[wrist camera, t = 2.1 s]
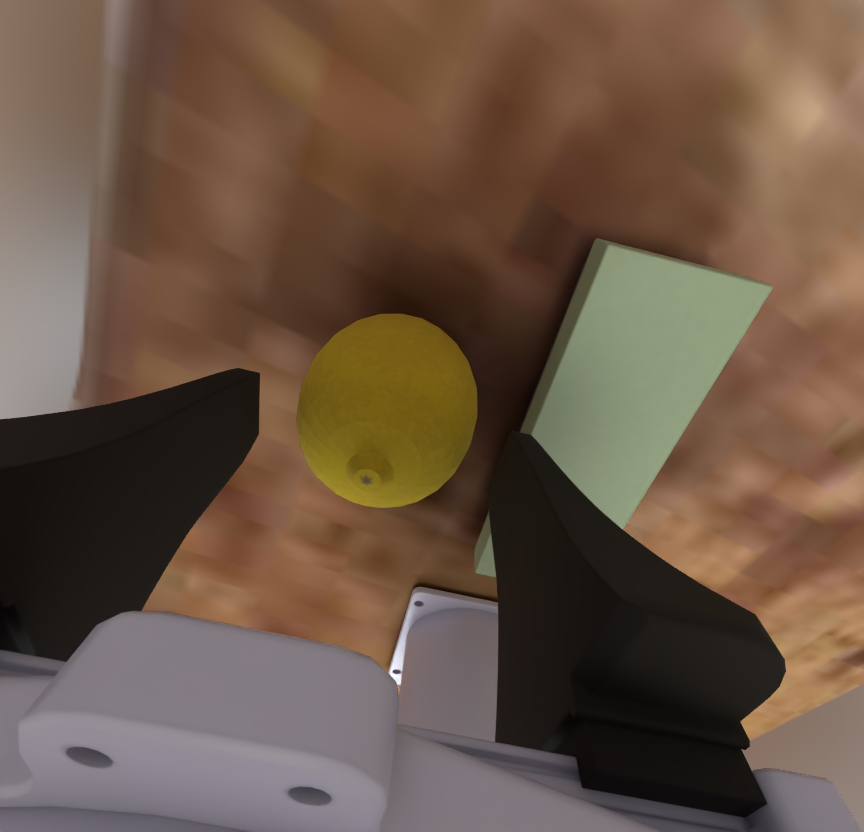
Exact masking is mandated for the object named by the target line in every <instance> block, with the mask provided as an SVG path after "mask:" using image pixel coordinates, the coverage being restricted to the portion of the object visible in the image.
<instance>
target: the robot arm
mask: <svg viewBox="0 0 864 832" xmlns="http://www.w3.org/2000/svg"><path fill="white" fill-rule="evenodd" d="M259 393H260V373H257V372H253V371H249V370H244V369H240V368H236V369H231V370H227V371H223V372H220V373H216V374H213V375H210V376H207V377H204V378H200V379H197V380H194V381H191V382H188V383H185V384H181V385H178V386H175V387H172V388H168V389H165V390H161V391H157V392H154V393H150V394H146V395H143V396H139V397H136V398H132V399H128V400H124V401H119V402H115V403H110V404H105V405H100V406H95V407H90V408H85V409H79V410H73V411H66V412H58V413H51V414H44V415H36V416H30V417H21V418H12V419H0V832H863V831H862V830H861V828H860V827H859V825H858V823H857V822H856V820H855V818H854V817H853V815H852V813H851V812H850V810H849V808H848V807H847V805H846V803H845V802H844V800H843V798H842V797H841V795H840V794H839V792H838V790H837V789H836V787H835V786H834V784H833V782H831V781H829V780H828V779H826V778H821V777H816V776H811V775H806V774H801V773H795V772H790V771H785V770H780V769H770V768H764V769H757V770H754V771H751V769H750V767H749V764H748V762H747V760H746V758H745V756H744V754H743V752H742V750H741V749H744V750H746V749H747V748H748V747H749V746H750V740H749V738H748V736H747V734H746V732H745V731H744V729H743V727H742V725H741V723H740V721H741V720H743V719H744V718H745V717H746V716H747V715H749V714H750V713H751V712H752V711H753V710H755V709H756V708H757V707H758V706H759V705H761V704H762V703H763V702H764V701H765V700H767V699H768V698H769V697H770V696H771V695H772V694H773V693H774V692H775V691H776V690H777V689H778V688H779V687H780V684H781V682H782V679H783V677H784V674H785V672H786V667H785V659H784V658H783V656H782V655H781V653H780V652H779V650H778V649H777V647H776V645H775V644H774V642H773V641H772V639H771V638H770V636H769V635H768V633H767V632H766V630H765V628H764V627H763V625H762V624H761V622H760V621H759V619H758V618H757V616H756V615H755V614H753V613H752V612H750V611H748V610H746V609H744V608H743V607H741V606H739V605H737V604H735V603H734V602H732V601H730V600H728V599H726V598H725V597H723V596H721V595H719V594H717V593H716V592H714V591H712V590H710V589H708V588H707V587H705V586H703V585H702V584H700V583H698V582H697V581H695V580H694V579H692V578H690V577H689V576H687V575H686V574H684V573H682V572H681V571H679V570H678V569H676V568H675V567H673V566H672V565H670V564H669V563H667V562H666V561H664V560H663V559H661V558H660V557H658V556H657V555H655V554H654V553H653V552H651V551H650V550H649V549H647V548H646V547H645V546H643V545H642V544H641V543H639V542H638V541H637V540H635V539H634V538H633V537H631V536H630V535H629V534H628V533H626V532H625V531H624V530H623V529H621V528H620V527H619V526H618V525H617V524H616V523H614V522H613V521H612V520H611V519H610V518H609V517H607V516H606V515H605V514H604V513H603V512H602V511H601V510H600V509H599V508H598V507H596V506H595V505H594V504H593V503H592V502H591V501H590V500H589V499H588V498H587V497H586V496H585V495H584V494H583V493H582V492H581V491H580V490H579V489H578V487H577V486H576V485H575V484H574V483H573V482H572V481H571V480H570V479H569V478H568V476H567V475H566V474H565V473H564V472H563V471H562V470H561V469H560V467H559V466H558V465H557V464H556V463H555V461H554V460H553V459H552V458H551V457H550V456H549V454H548V453H547V452H546V451H545V450H544V448H543V447H542V446H541V445H540V444H539V443H538V441H537V440H536V439H535V438H534V437H533V436H532V435H530V434H526V433H521V432H517V431H512V430H510V433H509V435H508V438H507V441H506V443H505V446H504V449H503V451H502V454H501V457H500V459H499V462H498V465H497V467H496V470H495V473H494V475H493V478H492V480H491V483H490V495H489V519H490V528H491V537H492V546H493V554H494V563H495V571H496V580H497V592H498V602H493V601H489V600H484V599H479V598H474V597H469V596H464V595H460V594H455V593H450V592H445V591H440V590H435V589H430V588H426V587H417V588H415V589H414V590H413V591H412V595H411V598H410V601H409V604H408V608H407V611H406V614H405V617H404V621H403V624H402V627H401V630H400V634H399V637H398V640H397V644H396V647H395V650H394V653H393V657H392V660H391V663H390V666H389V670H388V672H386V671H385V670H384V669H383V668H382V667H381V666H380V665H379V664H378V663H376V662H375V661H374V660H373V659H372V658H371V657H369V656H366V655H363V654H360V653H358V652H355V651H352V650H349V649H347V648H344V647H341V646H338V645H334V644H329V643H324V642H318V641H313V640H308V639H303V638H298V637H293V636H288V635H283V634H277V633H272V632H267V631H262V630H257V629H252V628H247V627H242V626H237V625H231V624H226V623H221V622H216V621H211V620H206V619H201V618H196V617H190V616H185V615H180V614H175V613H170V612H154V611H141V610H142V608H143V607H144V605H145V603H146V601H147V599H148V598H149V596H150V594H151V593H152V591H153V589H154V588H155V586H156V584H157V582H158V581H159V579H160V577H161V576H162V574H163V572H164V571H165V569H166V567H167V566H168V564H169V562H170V561H171V559H172V557H173V556H174V554H175V553H176V551H177V549H178V548H179V546H180V545H181V543H182V541H183V540H184V538H185V537H186V535H187V534H188V532H189V531H190V529H191V528H192V527H193V525H194V524H195V523H196V521H197V520H198V519H199V517H200V516H201V515H202V513H203V512H204V511H205V510H206V508H207V507H208V506H209V505H210V503H211V502H212V501H213V500H214V498H215V497H216V496H217V495H218V493H219V492H220V491H221V489H222V488H223V487H224V486H225V484H226V483H227V482H228V481H229V479H230V478H231V477H232V475H233V474H234V473H235V472H236V470H237V469H238V468H239V466H240V465H241V464H242V462H243V461H244V459H245V458H246V456H247V454H248V453H249V451H250V449H251V447H252V445H253V444H254V442H255V440H256V438H257V436H258V434H259ZM397 685H400V692H399V695H398V688H397Z"/></svg>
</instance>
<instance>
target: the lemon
mask: <svg viewBox="0 0 864 832" xmlns="http://www.w3.org/2000/svg"><path fill="white" fill-rule="evenodd" d="M477 411H478V410H477V388H476V383H475V380H474V377H473V374H472V371H471V368H470V365H469V362H468V360H467V359H466V357H465V356H464V354H463V353H462V351H461V350H460V348H459V347H458V345H457V344H456V342H455V341H454V340H452V339H451V338H450V337H449V336H448V335H447V334H446V333H445V332H444V331H442V330H441V329H440V328H439V327H437V326H435V325H433V324H431V323H430V322H428V321H426V320H424V319H422V318H418V317H414V316H410V315H406V314H378V315H375V316H371V317H367V318H363V319H360V320H358V321H356V322H354V323H352V324H351V325H349V326H347V327H346V328H344V329H342V330H341V331H339V332H338V333H336V334H335V335H334V336H333V337H332V338H331V339H330V340H329V342H328V343H327V344H326V345H325V346H324V347H323V348H322V349H321V350H320V351H319V352H318V353H317V355H316V356H315V358H314V360H313V362H312V364H311V366H310V368H309V370H308V372H307V374H306V376H305V378H304V381H303V383H302V387H301V391H300V397H299V403H298V410H297V427H298V435H299V442H300V446H301V448H302V451H303V453H304V455H305V458H306V460H307V462H308V464H309V466H310V468H311V469H312V470H313V472H314V473H315V474H316V476H317V477H318V478H319V479H320V480H321V481H322V482H323V483H324V484H325V485H326V486H328V487H329V488H330V489H331V490H332V491H334V492H335V493H336V494H338V495H340V496H342V497H343V498H345V499H347V500H349V501H352V502H355V503H358V504H361V505H364V506H370V507H378V508H387V507H399V506H404V505H407V504H411V503H414V502H418V501H419V500H421V499H423V498H425V497H427V496H428V495H430V494H432V493H434V492H435V491H437V490H438V489H439V488H440V487H441V486H442V485H443V484H444V483H446V482H447V481H448V480H449V479H450V478H451V477H452V475H453V474H454V473H455V471H456V470H457V468H458V466H459V465H460V463H461V461H462V460H463V458H464V456H465V455H466V453H467V451H468V449H469V446H470V443H471V440H472V436H473V432H474V428H475V424H476V420H477Z"/></svg>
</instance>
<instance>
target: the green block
mask: <svg viewBox="0 0 864 832" xmlns="http://www.w3.org/2000/svg"><path fill="white" fill-rule="evenodd" d="M772 289H773V286H772V285H769V284H766V283H764V282H761V281H758V280H755V279H752V278H749V277H747V276H743V275H739V274H735V273H731V272H727V271H723V270H719V269H716V268H712V267H708V266H704V265H700V264H696V263H692V262H688V261H684V260H680V259H676V258H672V257H669V256H665V255H661V254H657V253H653V252H649V251H645V250H641V249H637V248H633V247H629V246H625V245H622V244H618V243H614V242H610V241H606V240H602V239H595V241H594V243H593V246H592V248H590V249H589V250H588V252H587V255H586V257H585V260H584V263H583V265H582V268H581V270H580V273H579V276H578V278H577V281H576V283H575V286H574V288H573V291H572V294H571V296H570V299H569V301H568V304H567V307H566V309H565V312H564V314H563V317H562V320H561V322H560V325H559V327H558V330H557V332H556V335H555V338H554V340H553V343H552V345H551V348H550V351H549V353H548V356H547V358H546V361H545V363H544V366H543V369H542V371H541V374H540V376H539V379H538V382H537V384H536V387H535V389H534V392H533V395H532V397H531V400H530V402H529V405H528V407H527V410H526V413H525V415H524V418H523V420H522V423H521V426H520V428H519V431H518V432H521V433H526V434H530V435H532V436H533V437H534V438H535V439H536V440H537V441H538V443H539V444H540V445H541V446H542V447H543V448H544V450H545V451H546V452H547V453H548V454H549V456H550V457H551V458H552V459H553V460H554V461H555V463H556V464H557V465H558V466H559V467H560V469H561V470H562V471H563V472H564V473H565V474H566V475H567V476H568V478H569V479H570V480H571V481H572V482H573V483H574V484H575V485H576V486H577V487H578V489H579V490H580V491H581V492H582V493H583V494H584V495H585V496H586V497H587V498H588V499H589V500H590V501H591V502H592V503H593V504H594V505H595V506H596V507H598V508H599V509H600V510H601V511H602V512H603V513H604V514H605V515H606V516H607V517H609V518H610V519H611V520H612V521H613V522H614V523H616V524H617V525H618V526H619V527H620V528H621V529H623V528H624V527H625V525H626V524H627V522H628V520H629V519H630V517H631V516H632V514H633V512H634V511H635V509H636V508H637V506H638V504H639V503H640V501H641V500H642V498H643V496H644V495H645V493H646V491H647V490H648V488H649V487H650V485H651V483H652V482H653V480H654V479H655V477H656V475H657V474H658V472H659V471H660V469H661V467H662V466H663V464H664V463H665V461H666V459H667V458H668V456H669V454H670V453H671V451H672V450H673V448H674V446H675V445H676V443H677V442H678V440H679V438H680V437H681V435H682V434H683V432H684V430H685V429H686V427H687V426H688V424H689V422H690V421H691V419H692V417H693V416H694V414H695V413H696V411H697V409H698V408H699V406H700V405H701V403H702V401H703V400H704V398H705V397H706V395H707V393H708V392H709V390H710V388H711V387H712V385H713V384H714V382H715V380H716V379H717V377H718V376H719V374H720V372H721V371H722V369H723V368H724V366H725V364H726V363H727V361H728V360H729V358H730V356H731V355H732V353H733V351H734V350H735V348H736V347H737V345H738V343H739V342H740V340H741V339H742V337H743V335H744V334H745V332H746V331H747V329H748V327H749V326H750V324H751V323H752V321H753V319H754V318H755V316H756V314H757V313H758V311H759V310H760V308H761V306H762V305H763V303H764V302H765V300H766V298H767V297H768V295H769V294H770V292H771V290H772ZM474 562H475V573H477V574H481V575H486V576H491V577H496V571H495V563H494V554H493V546H492V537H491V528H490V519H489V508H488V511H487V513H486V516H485V519H484V526H483V528H482V531H481V533H480V536H479V539H478V541H477V544H476V546H475V549H474Z"/></svg>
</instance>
